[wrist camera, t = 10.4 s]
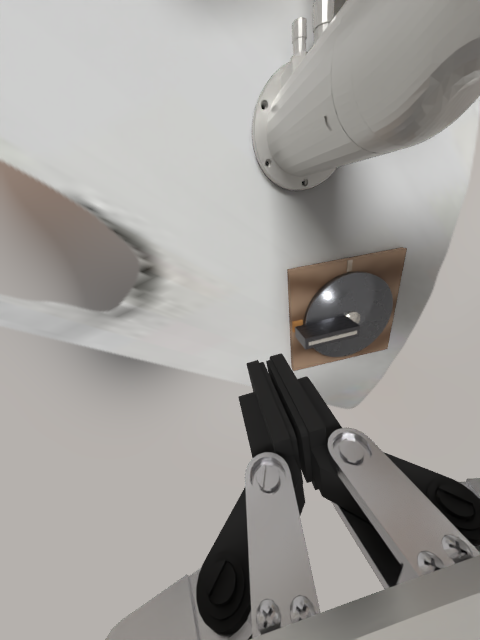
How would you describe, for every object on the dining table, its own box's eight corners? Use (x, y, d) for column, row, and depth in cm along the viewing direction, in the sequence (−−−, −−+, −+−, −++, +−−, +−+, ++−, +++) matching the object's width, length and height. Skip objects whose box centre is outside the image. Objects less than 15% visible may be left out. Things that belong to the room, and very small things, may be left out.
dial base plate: (287, 269, 36) (290, 271, 35) (401, 247, 38) (408, 248, 37) (291, 367, 46) (294, 371, 44) (383, 346, 47) (388, 349, 46)
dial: (294, 364, 44) (306, 383, 39) (289, 285, 36) (304, 297, 31) (381, 342, 45) (403, 358, 40) (394, 262, 38) (422, 270, 33)
